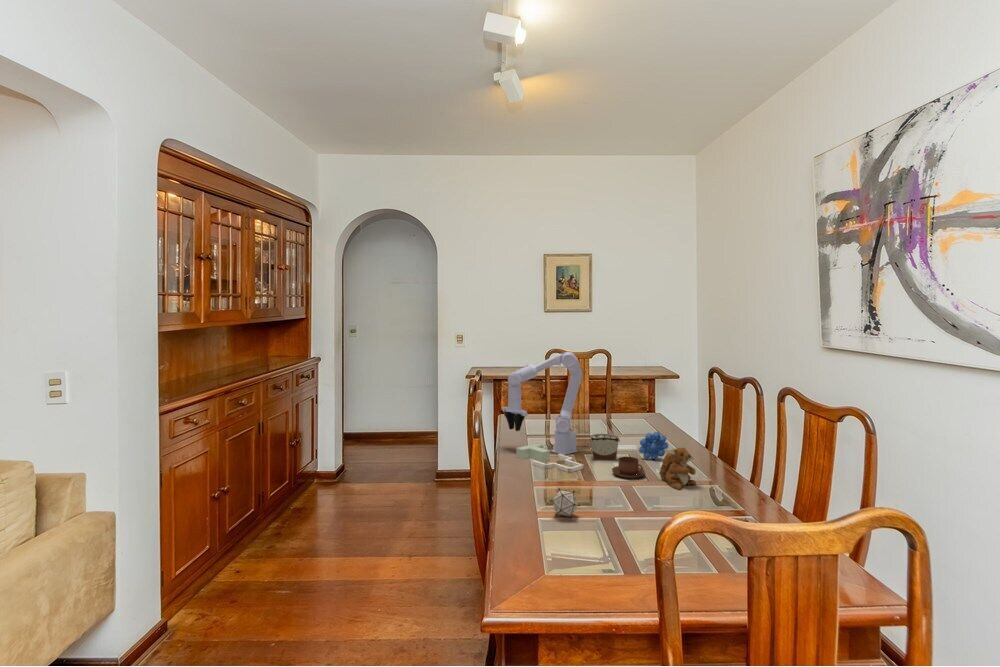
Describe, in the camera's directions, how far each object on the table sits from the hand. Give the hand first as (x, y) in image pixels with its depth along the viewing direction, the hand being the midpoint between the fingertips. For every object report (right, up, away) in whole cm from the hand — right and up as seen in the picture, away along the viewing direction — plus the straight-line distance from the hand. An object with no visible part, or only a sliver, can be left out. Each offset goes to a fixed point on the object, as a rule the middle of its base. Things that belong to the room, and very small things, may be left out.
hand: (514, 429), depth 227 cm
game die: (+13, -12, -73) cm, 75 cm away
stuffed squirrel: (+57, -11, -43) cm, 72 cm away
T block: (+9, -10, -10) cm, 17 cm away
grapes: (+58, -10, -13) cm, 60 cm away
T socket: (+18, -10, -22) cm, 30 cm away
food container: (+37, -10, -12) cm, 40 cm away
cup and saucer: (+42, -11, -34) cm, 55 cm away
